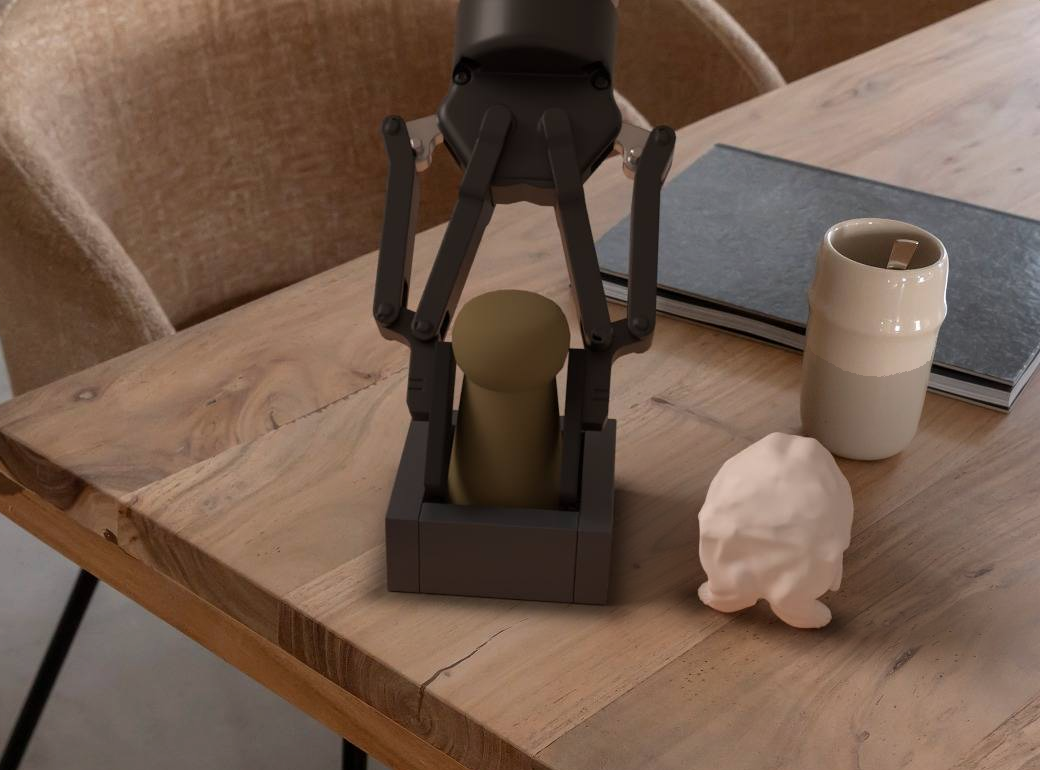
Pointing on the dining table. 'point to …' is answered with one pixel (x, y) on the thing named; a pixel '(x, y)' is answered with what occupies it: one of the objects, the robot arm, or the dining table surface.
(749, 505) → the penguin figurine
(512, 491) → the cork
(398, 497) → the socket base
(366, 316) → the dining table surface
